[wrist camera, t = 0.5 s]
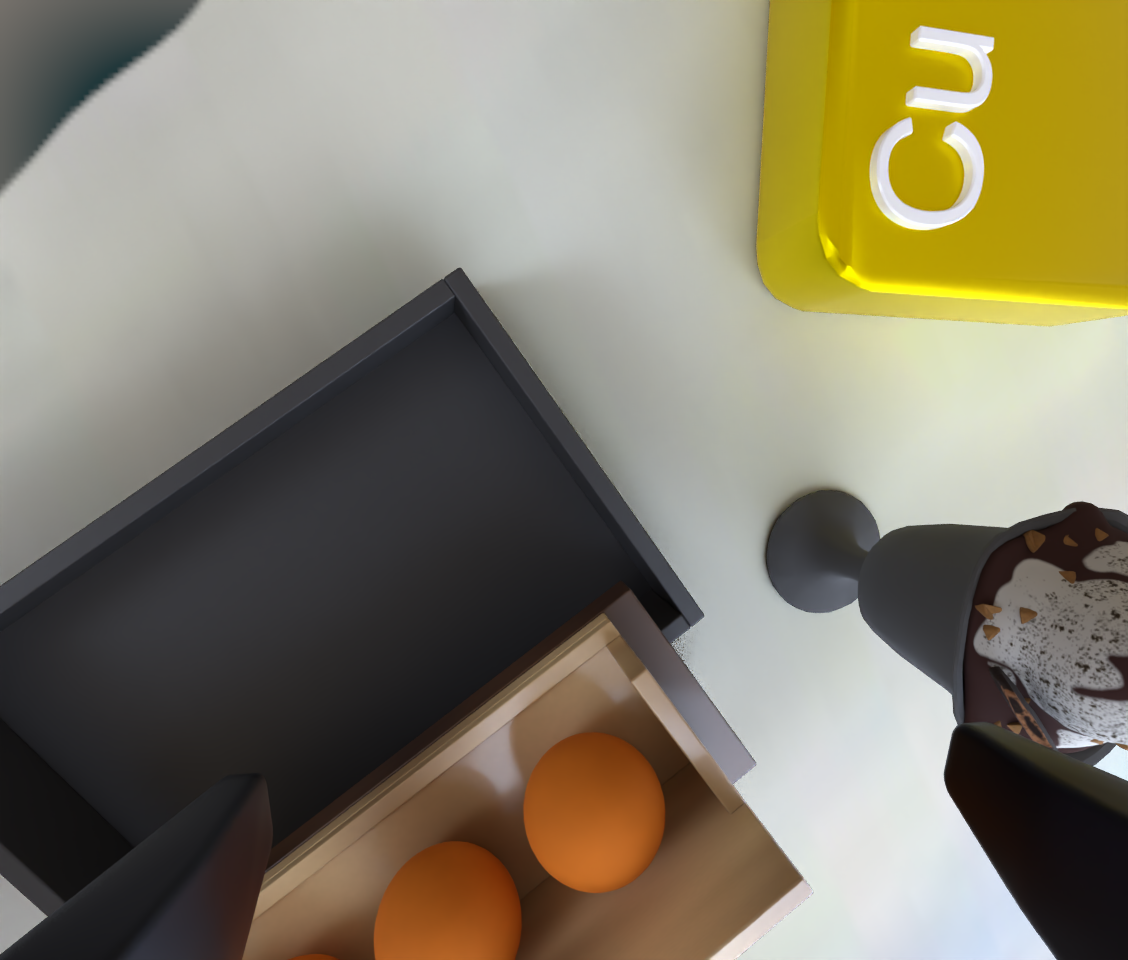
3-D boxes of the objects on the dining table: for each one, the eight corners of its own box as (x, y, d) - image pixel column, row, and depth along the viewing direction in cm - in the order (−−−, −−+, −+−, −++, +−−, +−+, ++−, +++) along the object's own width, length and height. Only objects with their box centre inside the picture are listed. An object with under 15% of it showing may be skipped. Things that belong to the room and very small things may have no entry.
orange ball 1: (430, 943, 17) (439, 1088, 14) (346, 872, 16) (335, 1013, 13) (532, 860, 17) (565, 983, 14) (457, 785, 16) (475, 900, 13)
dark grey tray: (218, 936, 22) (176, 1033, 18) (-70, 658, 19) (-182, 712, 16) (668, 587, 24) (705, 616, 20) (458, 289, 21) (460, 265, 18)
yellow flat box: (1082, 330, 26) (1224, 312, 21) (748, 310, 23) (825, 283, 18) (1126, -61, 24) (1288, -175, 19) (771, -134, 21) (863, -287, 17)
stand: (326, 975, 23) (288, 1150, 17) (195, 845, 21) (109, 991, 16) (688, 686, 24) (757, 764, 19) (587, 547, 23) (630, 588, 17)
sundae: (906, 470, 25) (1564, 552, 10) (886, 632, 25) (1480, 929, 11) (754, 461, 24) (1254, 540, 9) (738, 632, 24) (1179, 966, 10)
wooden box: (281, 1097, 17) (205, 1414, 12) (140, 968, 16) (-16, 1251, 11) (707, 751, 18) (815, 893, 13) (603, 611, 17) (673, 701, 12)
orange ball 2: (557, 840, 17) (597, 958, 14) (485, 763, 16) (510, 872, 13) (655, 761, 18) (716, 858, 14) (591, 680, 17) (641, 766, 13)
